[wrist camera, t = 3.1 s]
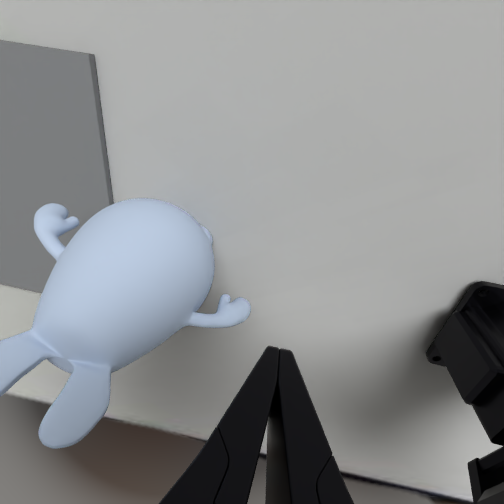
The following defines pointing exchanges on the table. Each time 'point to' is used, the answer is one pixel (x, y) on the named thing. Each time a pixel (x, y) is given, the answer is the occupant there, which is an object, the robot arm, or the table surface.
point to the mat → (47, 153)
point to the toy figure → (112, 303)
